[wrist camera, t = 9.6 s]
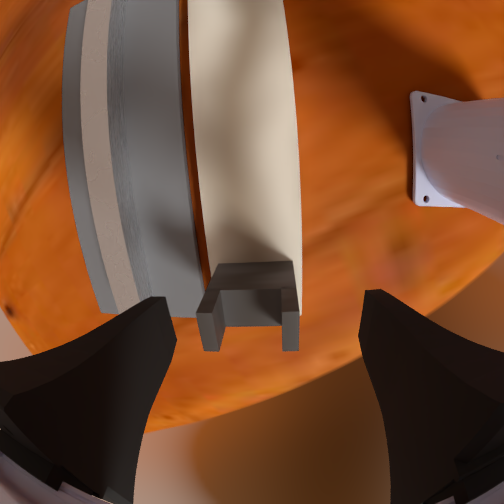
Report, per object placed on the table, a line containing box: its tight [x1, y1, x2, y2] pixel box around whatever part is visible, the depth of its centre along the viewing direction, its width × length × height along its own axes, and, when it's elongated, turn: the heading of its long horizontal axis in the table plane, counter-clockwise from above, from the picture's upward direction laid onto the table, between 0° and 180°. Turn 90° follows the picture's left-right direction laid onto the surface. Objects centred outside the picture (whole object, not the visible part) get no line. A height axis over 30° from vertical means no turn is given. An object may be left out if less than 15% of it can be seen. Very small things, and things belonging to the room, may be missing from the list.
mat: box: [62, 0, 205, 318], centre depth 16 cm, size 10×28×1 cm, turn 4°
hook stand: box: [188, 0, 302, 352], centre depth 12 cm, size 6×27×7 cm, turn 4°
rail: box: [80, 0, 154, 314], centre depth 15 cm, size 2×25×2 cm, turn 4°
